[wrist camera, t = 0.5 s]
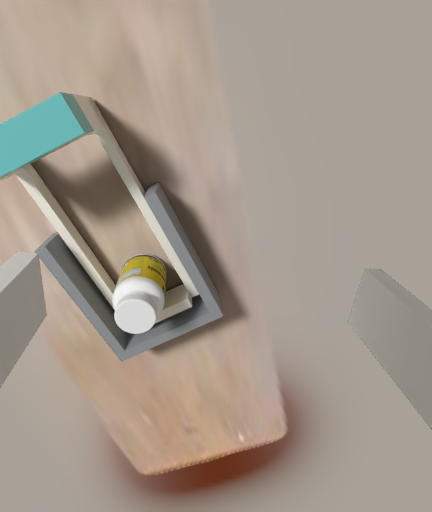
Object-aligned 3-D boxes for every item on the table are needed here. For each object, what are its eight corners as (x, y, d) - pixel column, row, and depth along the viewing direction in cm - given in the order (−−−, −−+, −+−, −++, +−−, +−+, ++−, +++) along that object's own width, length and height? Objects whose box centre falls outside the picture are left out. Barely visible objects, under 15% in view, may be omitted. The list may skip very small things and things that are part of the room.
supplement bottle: (174, 282, 41) (172, 329, 32) (134, 296, 41) (122, 347, 32) (156, 245, 39) (148, 285, 30) (114, 261, 39) (95, 305, 30)
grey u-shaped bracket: (52, 234, 37) (34, 251, 32) (158, 182, 36) (155, 192, 31) (127, 335, 43) (121, 361, 39) (219, 294, 42) (223, 316, 38)
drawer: (4, 143, 32) (-56, 154, 24) (91, 97, 31) (60, 92, 23) (129, 317, 42) (116, 367, 34) (198, 286, 41) (202, 329, 33)
